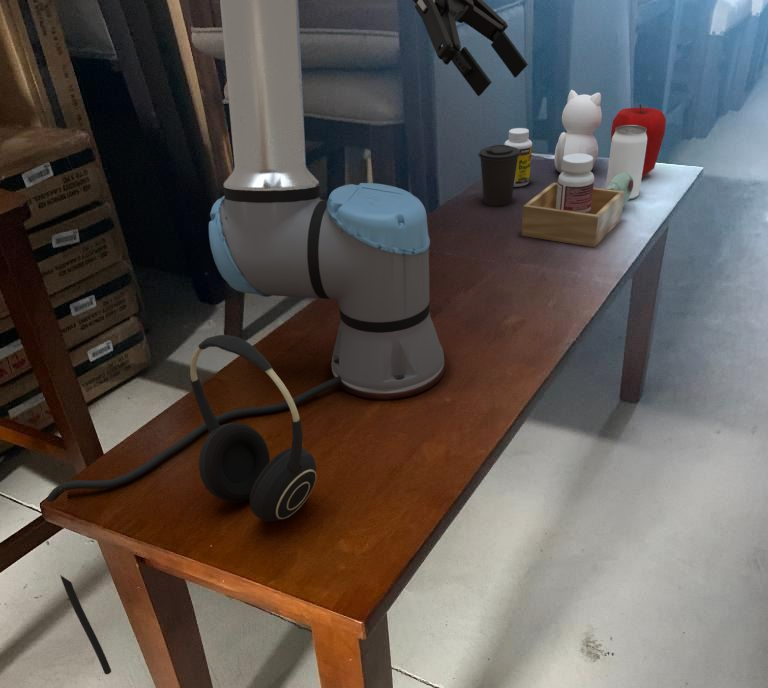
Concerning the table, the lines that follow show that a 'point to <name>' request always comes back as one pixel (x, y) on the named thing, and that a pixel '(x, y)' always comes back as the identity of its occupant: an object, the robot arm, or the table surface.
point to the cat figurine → (579, 127)
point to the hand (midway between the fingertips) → (504, 80)
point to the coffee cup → (498, 173)
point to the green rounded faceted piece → (622, 184)
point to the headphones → (252, 450)
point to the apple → (654, 132)
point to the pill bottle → (576, 184)
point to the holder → (572, 217)
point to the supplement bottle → (522, 142)
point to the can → (628, 155)
